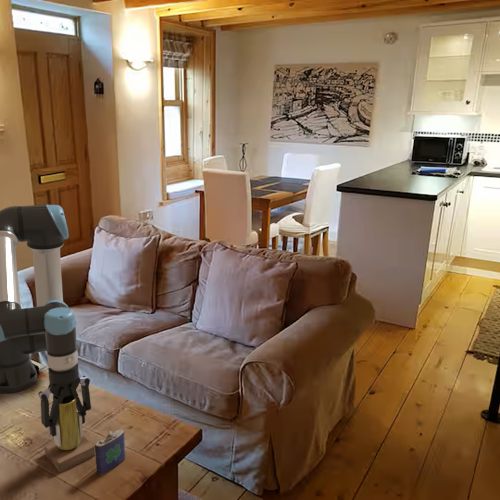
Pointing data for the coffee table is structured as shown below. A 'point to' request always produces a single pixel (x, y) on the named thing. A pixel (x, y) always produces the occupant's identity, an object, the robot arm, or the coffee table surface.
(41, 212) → the robot arm
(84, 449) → the plinth
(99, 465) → the flask
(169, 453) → the coffee table surface
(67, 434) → the vase
